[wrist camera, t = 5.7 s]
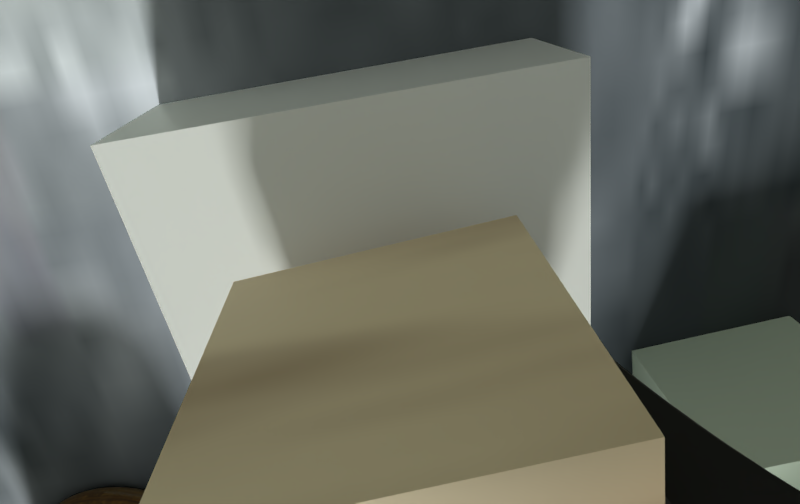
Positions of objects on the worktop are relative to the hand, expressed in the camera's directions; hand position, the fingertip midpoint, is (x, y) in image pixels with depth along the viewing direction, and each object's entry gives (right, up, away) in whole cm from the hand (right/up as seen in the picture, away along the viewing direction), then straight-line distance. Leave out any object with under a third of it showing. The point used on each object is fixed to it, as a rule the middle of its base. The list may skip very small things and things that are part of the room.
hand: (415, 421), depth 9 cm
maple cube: (0, +1, +1) cm, 2 cm away
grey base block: (-1, +3, +6) cm, 7 cm away
